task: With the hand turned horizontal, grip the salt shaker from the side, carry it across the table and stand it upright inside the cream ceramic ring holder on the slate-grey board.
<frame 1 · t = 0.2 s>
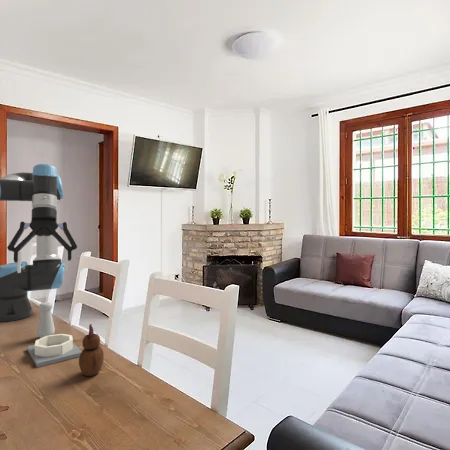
hand: (43, 271, 111), 27 cm above the table, tool tilted 15°, fingers open, 13 cm apart
ring holder: (54, 344, 112), on the slate board, point 3 cm above the table
salt shaker: (46, 338, 125), on the table
slate board: (54, 352, 112), on the table
wooden figurine: (91, 373, 98), on the table
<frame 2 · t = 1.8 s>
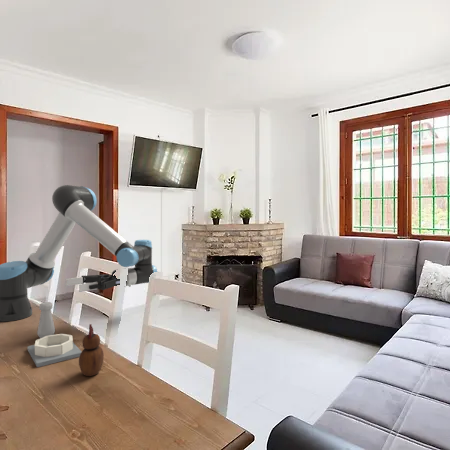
hand: (72, 285, 130), 18 cm above the table, tool horizontal, fingers open, 13 cm apart
nothing on the table moved.
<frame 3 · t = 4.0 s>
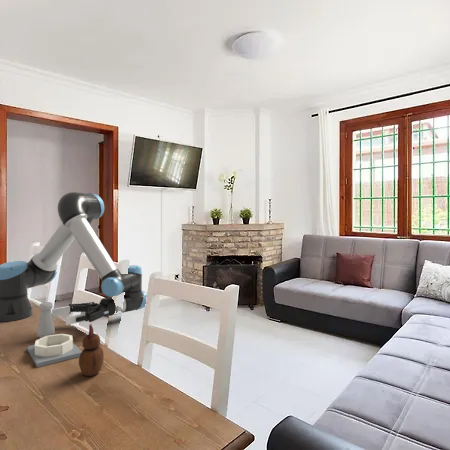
hand: (58, 316, 127), 7 cm above the table, tool horizontal, fingers open, 13 cm apart
nothing on the table moved.
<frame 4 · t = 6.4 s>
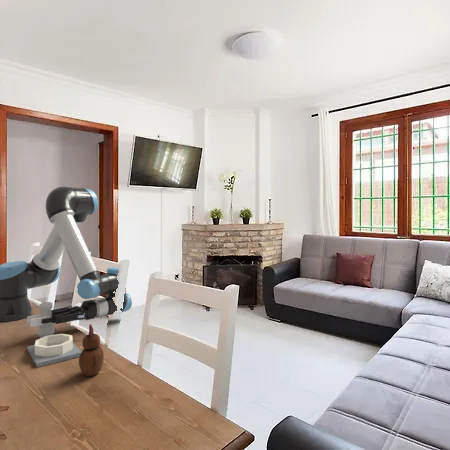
hand: (29, 321, 120), 7 cm above the table, tool horizontal, fingers closed on salt shaker, 3 cm apart
salt shaker: (46, 338, 125), on the table, touching gripper
everything else where it was.
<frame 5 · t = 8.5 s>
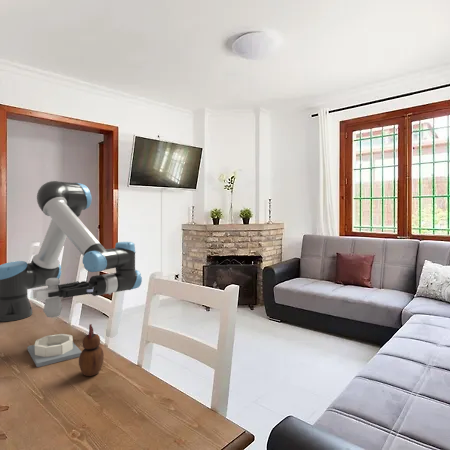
hand: (35, 295, 113), 19 cm above the table, tool horizontal, fingers closed on salt shaker, 3 cm apart
salt shaker: (53, 316, 117), point 10 cm above the table, touching gripper
everything else where it was.
when the fingers open (10 cm above the table, at t = 10.8 s): salt shaker stays where it is, resting on slate board.
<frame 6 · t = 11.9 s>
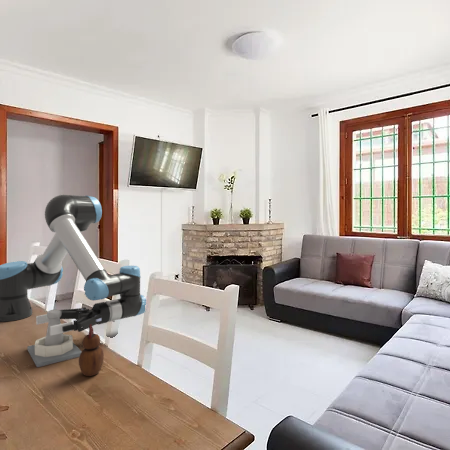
hand: (43, 325, 109), 10 cm above the table, tool horizontal, fingers open, 13 cm apart
salt shaker: (54, 349, 112), point 1 cm above the table, touching slate board
everything else where it was.
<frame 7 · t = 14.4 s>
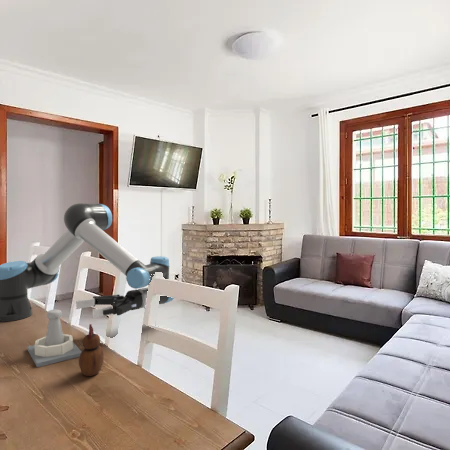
hand: (84, 309, 118), 13 cm above the table, tool horizontal, fingers open, 13 cm apart
nothing on the table moved.
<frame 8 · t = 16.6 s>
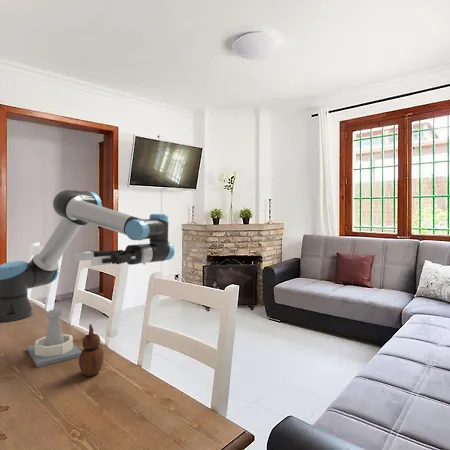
hand: (83, 259, 117), 30 cm above the table, tool horizontal, fingers open, 13 cm apart
nothing on the table moved.
at the end: salt shaker 0.1 cm off-centre on the ring holder, point 1.0 cm above the ring holder's base; salt shaker tilted 0°; the gripper is holding nothing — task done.
